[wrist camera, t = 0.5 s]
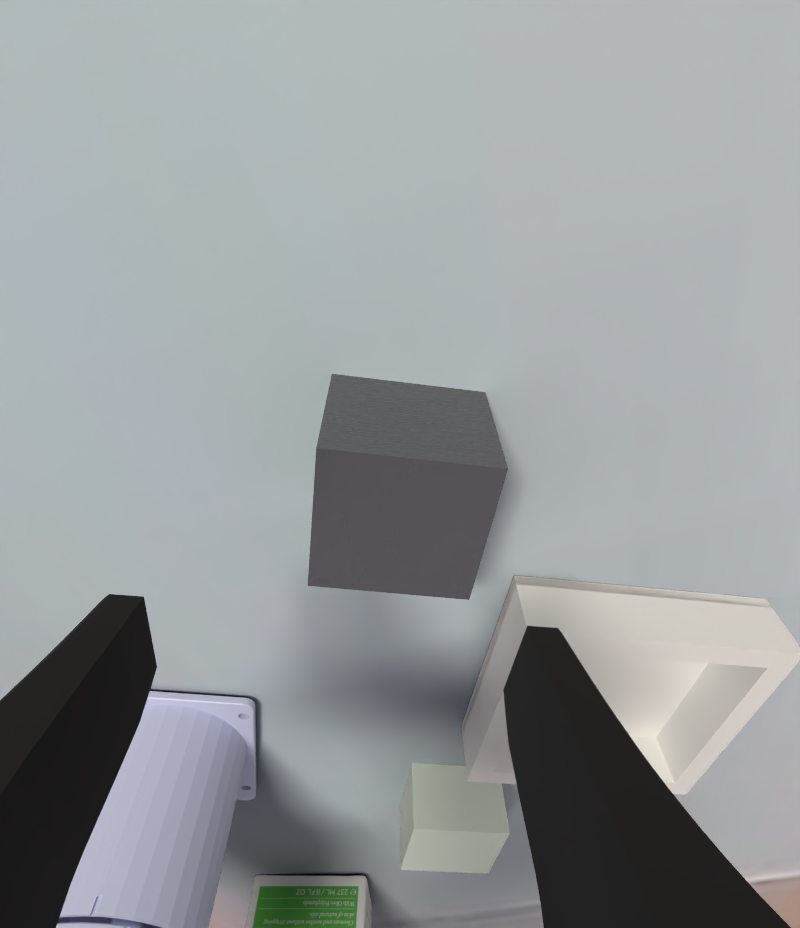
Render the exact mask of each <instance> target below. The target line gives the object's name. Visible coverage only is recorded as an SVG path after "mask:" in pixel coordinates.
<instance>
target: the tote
mask: <svg viewBox="0 0 800 928" xmlns="http://www.w3.org/2000/svg"><path fill="white" fill-rule="evenodd" d="M527 626H538V627H551V628H558V629H559V630H560V631H561V632H562V634H563V635H564V637H565V639H566V640H567V642H568V643H569V645H570V646H571V648H572V650H573V651H574V653H575V654H576V656H577V658H578V659H579V661H580V662H581V664H582V665H583V667H584V669H585V670H586V672H587V673H588V675H589V676H590V678H591V679H592V681H593V682H594V684H595V685H596V687H597V689H598V690H599V692H600V693H601V695H602V696H603V698H604V699H605V701H606V702H607V704H608V705H609V707H610V708H611V710H612V711H613V712H614V714H615V715H616V717H617V718H618V720H619V721H620V723H621V724H622V725H623V727H624V728H625V730H626V731H627V732H628V734H629V735H630V737H631V738H632V740H633V741H634V742H635V744H636V745H637V747H638V748H639V750H640V751H641V752H642V754H643V755H644V756H645V758H646V759H647V760H648V762H649V763H650V765H651V766H652V767H653V769H654V770H655V771H656V772H657V774H658V775H659V776H660V778H661V779H662V780H663V782H664V783H665V784H666V786H667V787H668V788H669V789H670V791H671V792H672V793H673V794H683V795H686V793H687V792H688V791H689V790H690V789H691V788H692V786H693V785H694V784H695V783H696V782H697V781H698V779H699V778H700V777H701V776H702V775H703V773H704V772H705V771H706V770H707V769H708V768H709V766H710V765H711V764H712V763H713V762H714V761H715V759H716V758H717V757H718V756H719V755H720V753H721V752H722V751H723V750H724V749H725V748H726V746H727V745H728V744H729V743H730V742H731V741H732V739H733V738H734V737H735V736H736V735H737V733H738V732H739V731H740V730H741V729H742V728H743V726H744V725H745V724H746V723H747V722H748V721H749V719H750V718H751V717H752V716H753V715H754V713H755V712H756V711H757V710H758V709H759V708H760V706H761V705H762V704H763V703H764V702H765V700H766V699H767V698H768V697H769V696H770V695H771V693H772V692H773V691H774V690H775V689H776V688H777V686H778V685H779V684H780V683H781V682H782V680H783V679H784V678H785V677H786V676H787V675H788V673H789V672H790V671H791V670H792V669H793V668H794V666H795V665H796V664H797V663H798V662H799V660H800V646H799V645H798V643H797V642H796V641H795V639H794V638H793V637H792V635H791V634H790V632H789V631H788V630H787V628H786V627H785V625H784V624H783V623H782V621H781V620H780V618H779V617H778V616H777V614H776V613H775V612H774V610H773V609H772V607H771V606H770V605H769V603H768V602H767V600H766V599H764V598H753V597H742V596H731V595H721V594H710V593H699V592H688V591H677V590H667V589H656V588H645V587H634V586H623V585H612V584H602V583H591V582H580V581H569V580H558V579H548V578H537V577H526V576H515V575H514V577H513V580H512V583H511V585H510V588H509V591H508V594H507V597H506V600H505V603H504V605H503V608H502V611H501V614H500V617H499V620H498V623H497V625H496V628H495V631H494V634H493V637H492V640H491V643H490V645H489V648H488V651H487V654H486V657H485V660H484V663H483V665H482V668H481V671H480V674H479V677H478V680H477V683H476V685H475V688H474V691H473V694H472V697H471V700H470V703H469V705H468V708H467V711H466V714H465V717H464V720H463V723H462V725H461V727H462V737H463V746H464V756H465V765H466V775H467V781H468V782H485V783H502V784H517V783H516V778H515V773H514V768H513V763H512V759H511V754H510V749H509V743H508V734H507V725H506V715H505V703H504V692H503V689H504V687H505V684H506V681H507V679H508V676H509V673H510V671H511V668H512V665H513V663H514V660H515V657H516V655H517V652H518V649H519V647H520V644H521V641H522V639H523V636H524V633H525V631H526V628H527Z"/></svg>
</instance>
